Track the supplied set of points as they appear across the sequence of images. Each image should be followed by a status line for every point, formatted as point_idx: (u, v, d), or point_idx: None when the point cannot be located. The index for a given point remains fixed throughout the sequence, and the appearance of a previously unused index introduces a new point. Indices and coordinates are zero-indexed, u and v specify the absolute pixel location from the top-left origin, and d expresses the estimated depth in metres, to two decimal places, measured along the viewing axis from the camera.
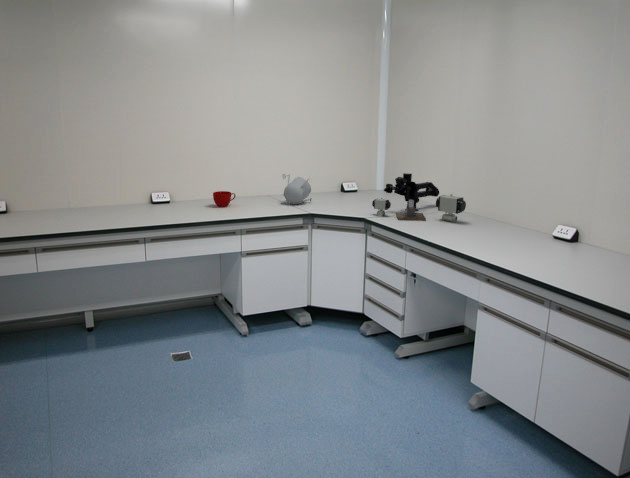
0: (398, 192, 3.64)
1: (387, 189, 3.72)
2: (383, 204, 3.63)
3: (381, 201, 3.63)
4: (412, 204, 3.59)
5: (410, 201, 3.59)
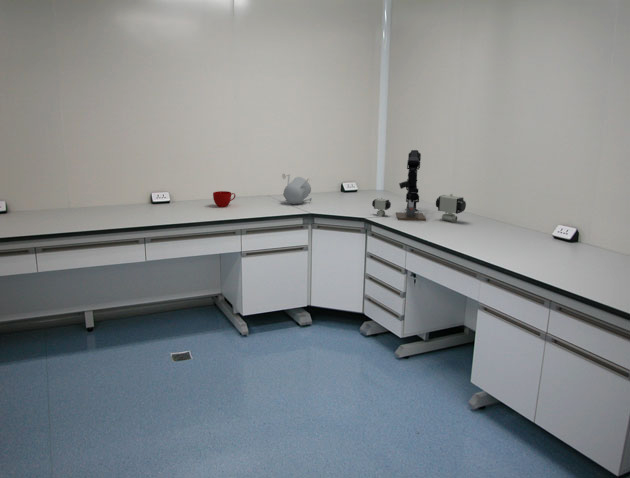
0: (413, 197, 3.54)
1: None
2: (383, 204, 3.63)
3: (381, 201, 3.63)
4: (412, 204, 3.59)
5: (410, 201, 3.59)
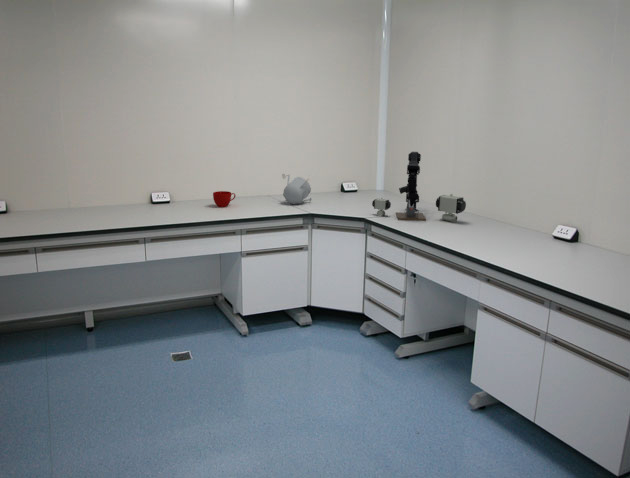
0: (412, 202, 3.58)
1: None
2: (383, 204, 3.63)
3: (381, 201, 3.63)
4: None
5: None
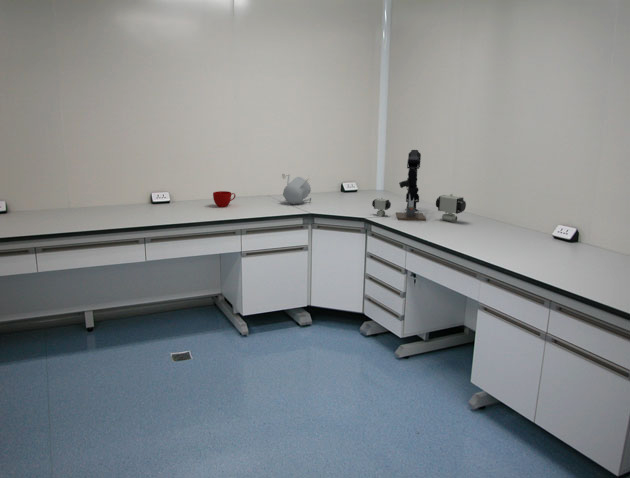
0: (412, 196, 3.57)
1: None
2: (383, 204, 3.63)
3: (381, 201, 3.63)
4: None
5: None
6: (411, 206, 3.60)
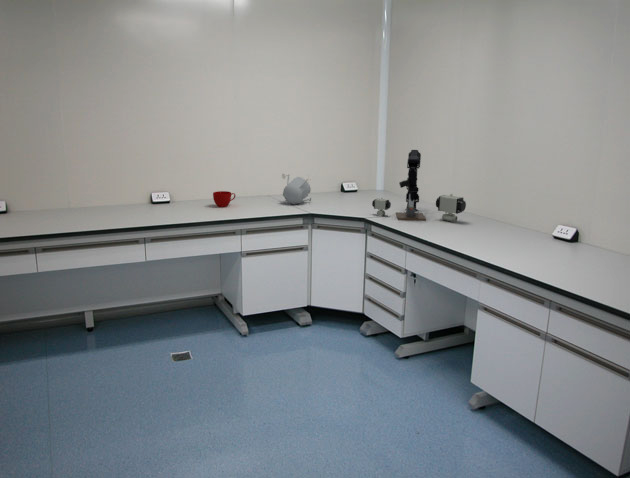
0: (413, 196, 3.54)
1: None
2: (383, 204, 3.63)
3: (381, 201, 3.63)
4: None
5: (410, 195, 3.58)
6: (411, 206, 3.59)
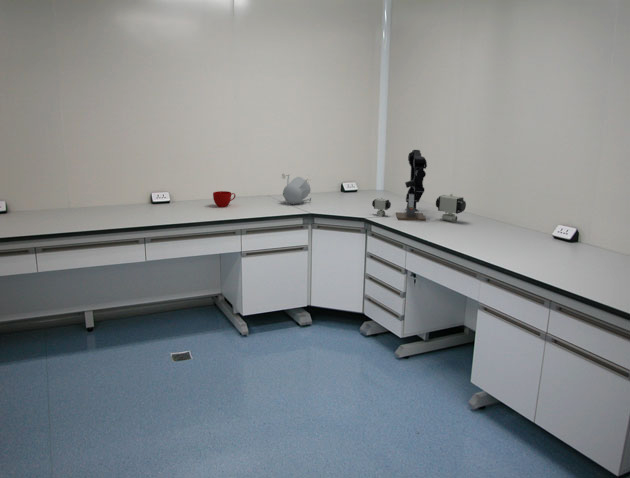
0: (419, 197, 3.53)
1: None
2: (383, 204, 3.63)
3: (381, 201, 3.63)
4: (412, 198, 3.58)
5: (410, 195, 3.58)
6: (411, 206, 3.59)
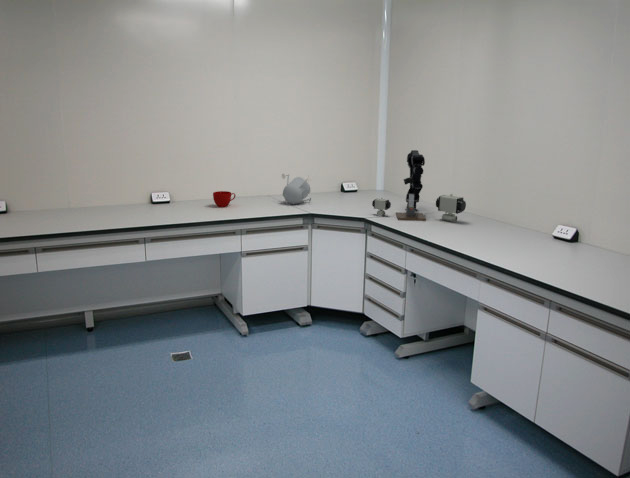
0: (417, 193, 3.61)
1: (414, 189, 3.71)
2: (383, 204, 3.63)
3: (381, 201, 3.63)
4: (412, 198, 3.58)
5: (410, 195, 3.58)
6: (411, 206, 3.59)
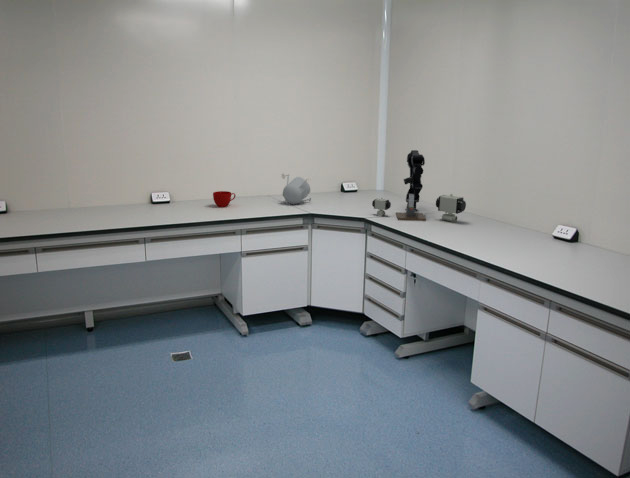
0: (417, 193, 3.61)
1: (414, 189, 3.71)
2: (383, 204, 3.63)
3: (381, 201, 3.63)
4: (412, 198, 3.58)
5: (410, 195, 3.58)
6: (411, 206, 3.59)
